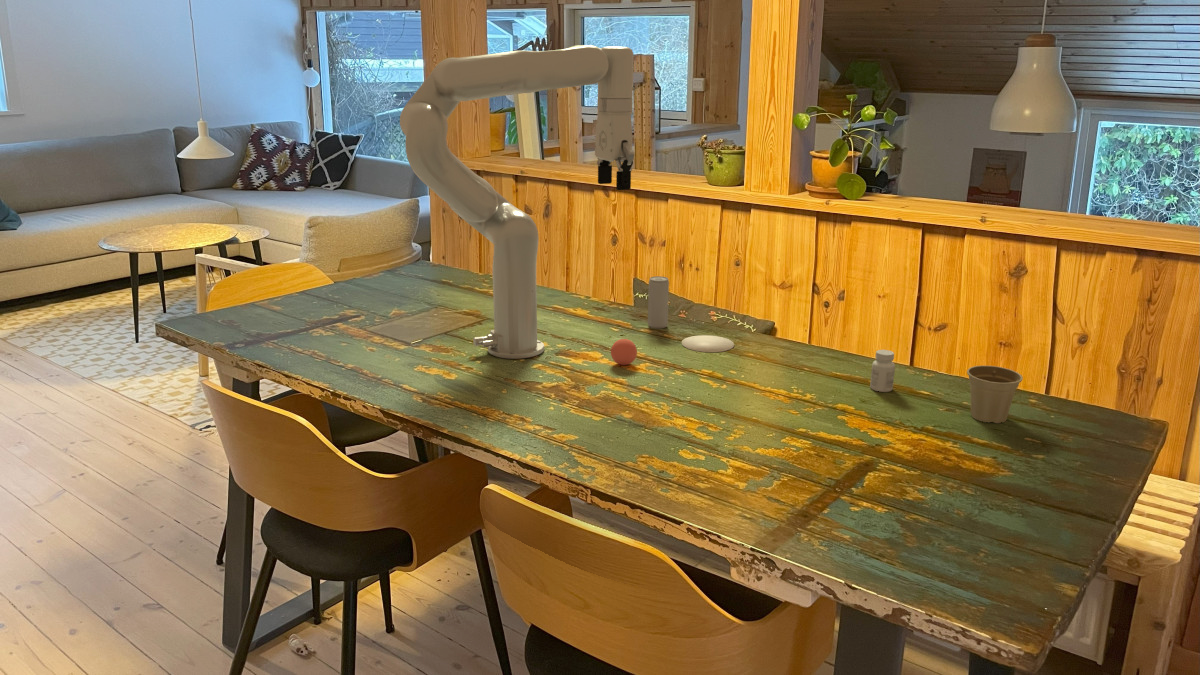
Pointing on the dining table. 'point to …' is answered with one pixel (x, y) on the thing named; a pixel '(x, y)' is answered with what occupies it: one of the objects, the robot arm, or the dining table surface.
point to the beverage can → (658, 302)
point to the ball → (623, 351)
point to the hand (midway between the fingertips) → (613, 186)
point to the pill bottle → (883, 371)
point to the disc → (707, 343)
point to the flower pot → (992, 392)
